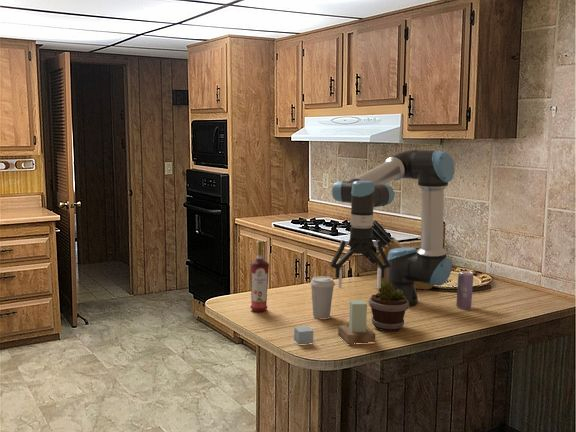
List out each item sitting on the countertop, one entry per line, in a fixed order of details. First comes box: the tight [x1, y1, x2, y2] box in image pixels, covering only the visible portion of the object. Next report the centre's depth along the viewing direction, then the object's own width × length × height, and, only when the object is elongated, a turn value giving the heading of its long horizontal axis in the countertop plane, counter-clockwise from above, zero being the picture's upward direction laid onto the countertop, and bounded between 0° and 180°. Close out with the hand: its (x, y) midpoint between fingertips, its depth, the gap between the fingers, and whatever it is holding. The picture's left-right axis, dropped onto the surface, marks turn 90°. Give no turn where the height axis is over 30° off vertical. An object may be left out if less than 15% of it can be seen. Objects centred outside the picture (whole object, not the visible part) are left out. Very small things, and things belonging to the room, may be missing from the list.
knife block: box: [360, 219, 435, 290], centre depth 292 cm, size 11×35×31 cm, turn 82°
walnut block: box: [337, 324, 376, 345], centre depth 220 cm, size 10×10×4 cm
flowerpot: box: [368, 278, 409, 332], centre depth 233 cm, size 14×15×20 cm
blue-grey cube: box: [293, 325, 314, 345], centre depth 215 cm, size 5×5×5 cm
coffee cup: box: [309, 275, 336, 319], centre depth 244 cm, size 10×10×15 cm
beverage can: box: [455, 270, 474, 311], centre depth 261 cm, size 6×6×15 cm
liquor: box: [249, 239, 270, 312], centre depth 249 cm, size 7×7×28 cm
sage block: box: [348, 299, 368, 332], centre depth 219 cm, size 5×5×10 cm
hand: (359, 287), depth 218 cm, fingers open, 13 cm apart
